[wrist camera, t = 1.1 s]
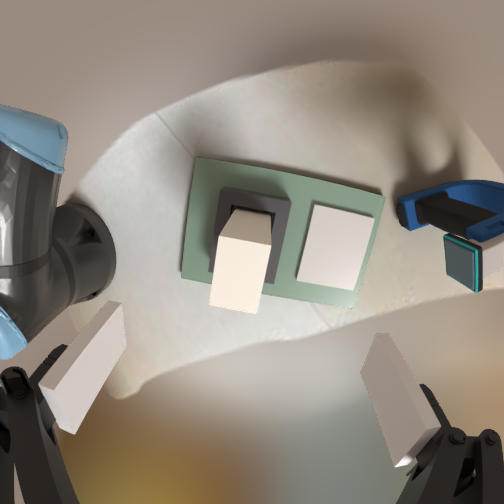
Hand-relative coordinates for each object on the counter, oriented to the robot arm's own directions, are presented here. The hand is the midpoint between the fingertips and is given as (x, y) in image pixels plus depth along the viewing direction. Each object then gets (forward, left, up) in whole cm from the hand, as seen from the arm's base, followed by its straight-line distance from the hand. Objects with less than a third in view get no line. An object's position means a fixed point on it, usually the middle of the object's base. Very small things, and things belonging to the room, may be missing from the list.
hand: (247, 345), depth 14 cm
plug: (-1, -1, -23) cm, 23 cm away
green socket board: (+3, -1, -24) cm, 24 cm away
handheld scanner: (+23, +8, -25) cm, 34 cm away
